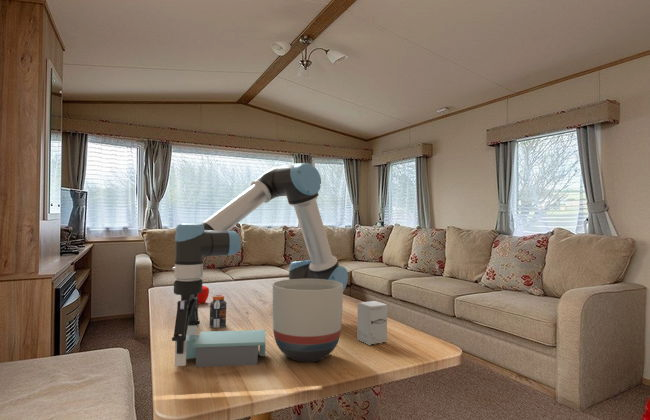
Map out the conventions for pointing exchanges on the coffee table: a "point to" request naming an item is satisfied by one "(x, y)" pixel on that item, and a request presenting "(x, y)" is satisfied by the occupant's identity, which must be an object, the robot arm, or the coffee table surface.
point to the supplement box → (372, 322)
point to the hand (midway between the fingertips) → (186, 356)
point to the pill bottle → (218, 311)
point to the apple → (203, 295)
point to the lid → (225, 340)
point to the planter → (307, 317)
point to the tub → (226, 356)
